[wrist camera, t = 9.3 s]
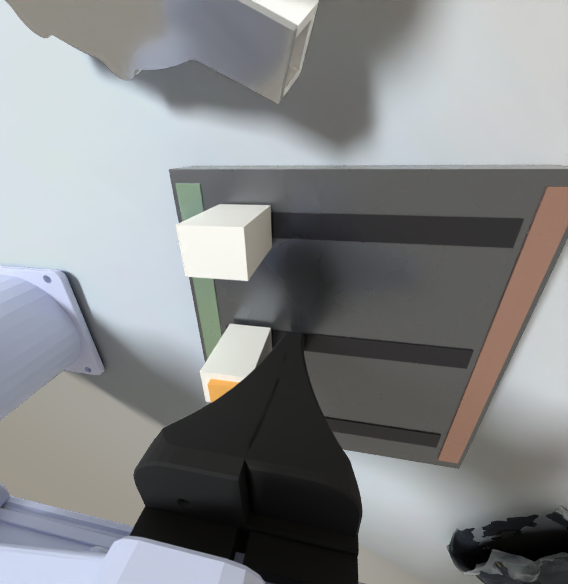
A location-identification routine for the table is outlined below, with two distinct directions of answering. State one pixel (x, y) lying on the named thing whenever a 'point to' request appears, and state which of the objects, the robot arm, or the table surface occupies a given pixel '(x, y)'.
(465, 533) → the electronic device
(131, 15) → the tabbed white plastic disc
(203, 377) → the block
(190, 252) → the block
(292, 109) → the table surface
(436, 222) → the grey slider switch panel
